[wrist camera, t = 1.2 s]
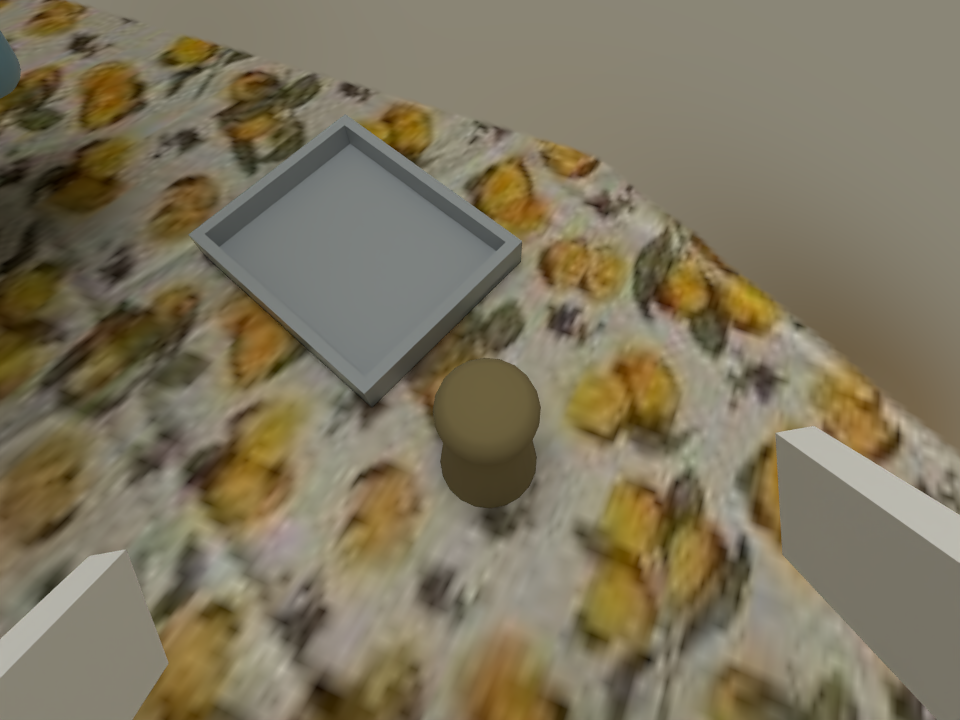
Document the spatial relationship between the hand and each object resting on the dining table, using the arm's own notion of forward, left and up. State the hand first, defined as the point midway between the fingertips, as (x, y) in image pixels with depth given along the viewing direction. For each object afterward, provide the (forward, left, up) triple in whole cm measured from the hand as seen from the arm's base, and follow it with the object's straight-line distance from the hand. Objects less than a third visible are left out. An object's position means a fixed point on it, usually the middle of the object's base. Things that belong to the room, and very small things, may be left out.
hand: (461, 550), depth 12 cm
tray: (-22, +11, -24) cm, 35 cm away
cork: (-5, +6, -24) cm, 26 cm away
